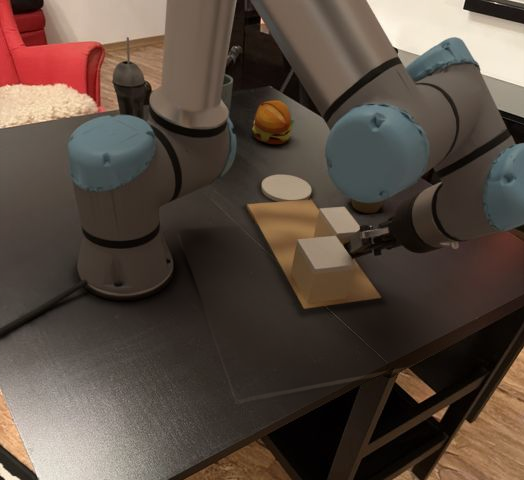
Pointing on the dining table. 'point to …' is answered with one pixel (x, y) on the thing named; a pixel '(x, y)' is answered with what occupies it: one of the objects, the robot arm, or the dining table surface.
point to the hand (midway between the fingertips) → (348, 251)
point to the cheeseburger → (272, 123)
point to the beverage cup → (129, 87)
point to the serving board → (285, 238)
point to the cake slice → (335, 224)
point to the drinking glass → (227, 91)
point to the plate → (285, 188)
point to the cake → (322, 269)
